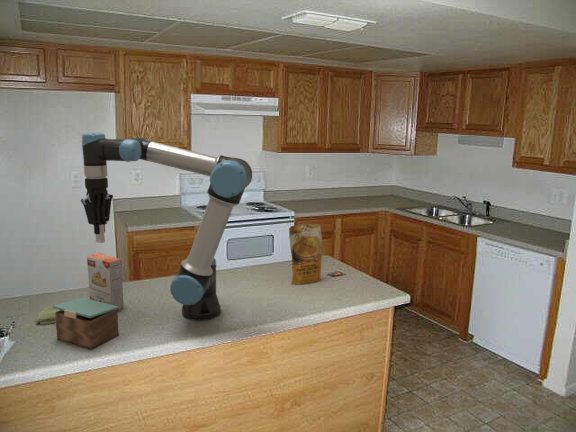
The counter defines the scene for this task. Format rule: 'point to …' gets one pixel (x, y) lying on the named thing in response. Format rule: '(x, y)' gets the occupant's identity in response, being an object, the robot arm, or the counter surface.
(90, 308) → the lid
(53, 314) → the washcloth
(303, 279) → the pancake mix bag
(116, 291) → the cracker box
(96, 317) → the box
